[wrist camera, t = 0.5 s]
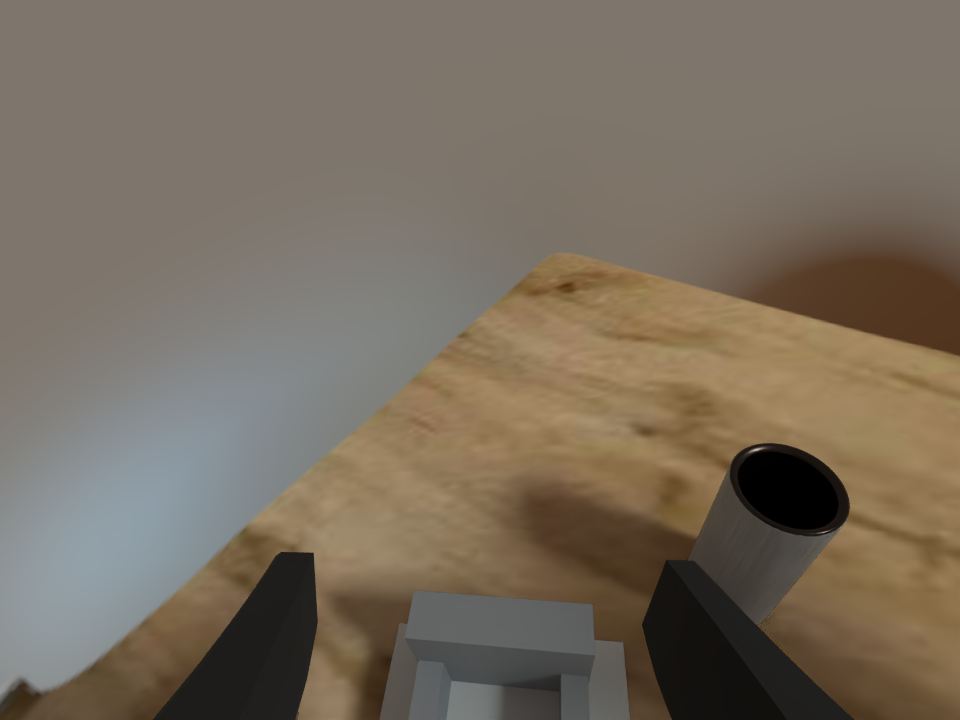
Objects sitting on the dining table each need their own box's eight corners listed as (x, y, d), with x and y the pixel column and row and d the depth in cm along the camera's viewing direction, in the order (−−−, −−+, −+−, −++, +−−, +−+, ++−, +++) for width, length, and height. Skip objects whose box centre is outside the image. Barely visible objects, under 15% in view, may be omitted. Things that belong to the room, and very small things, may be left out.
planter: (677, 610, 27) (725, 513, 20) (688, 537, 30) (733, 430, 23) (769, 644, 26) (855, 552, 19) (772, 564, 29) (847, 458, 22)
